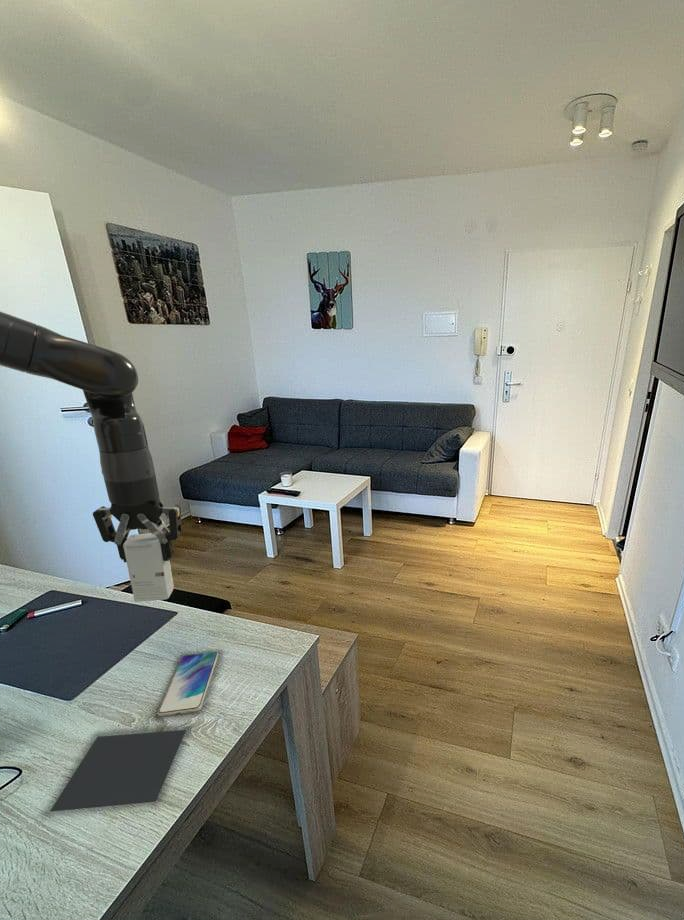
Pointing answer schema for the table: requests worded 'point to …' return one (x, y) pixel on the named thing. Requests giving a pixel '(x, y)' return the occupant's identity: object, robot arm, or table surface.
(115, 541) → the robot arm
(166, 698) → the smartphone
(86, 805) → the mat
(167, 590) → the cosmetic box
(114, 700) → the table surface
